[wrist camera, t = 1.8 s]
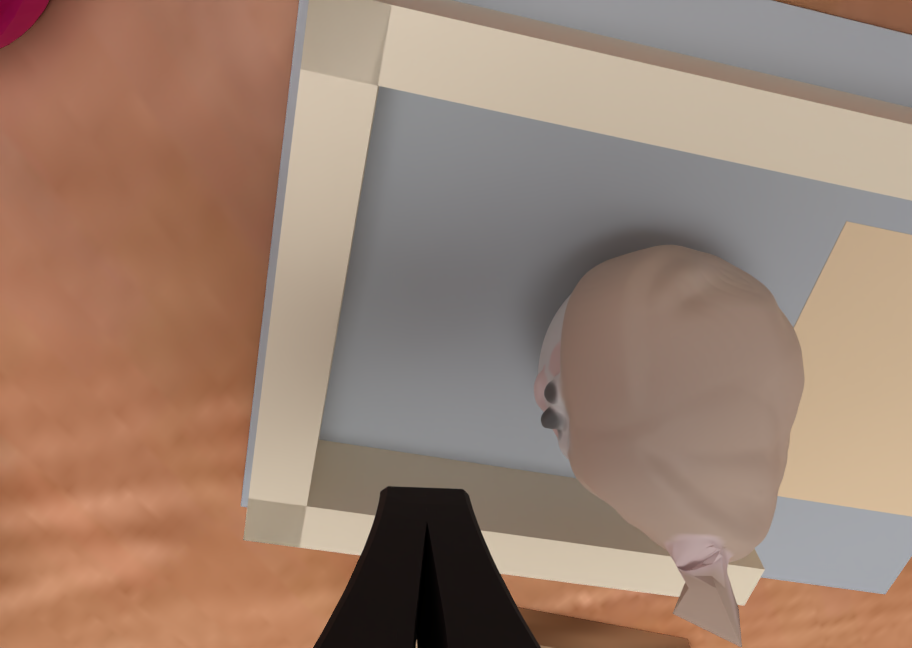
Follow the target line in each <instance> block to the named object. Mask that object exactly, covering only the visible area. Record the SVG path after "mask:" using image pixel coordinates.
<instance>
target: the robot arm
mask: <svg viewBox="0 0 912 648" xmlns="http://www.w3.org/2000/svg"><path fill="white" fill-rule="evenodd" d="M416 640H417V648H541V647H540V645H539V644H538V642H537V640H536V639H535V637H534V635H533V634H532V632H531V630H530V628H529V627H528V625H527V623H526V622H525V620H524V618H523V616H522V615H521V613H520V611H519V609H518V607H517V606H516V604H515V602H514V600H513V598H512V596H511V594H510V592H509V590H508V588H507V586H506V584H505V582H504V580H503V578H502V576H501V574H500V573H499V571H498V569H497V566H496V564H495V562H494V560H493V558H492V556H491V554H490V551H489V549H488V547H487V544H486V542H485V540H484V537H483V535H482V532H481V530H480V527H479V525H478V522H477V519H476V516H475V513H474V510H473V507H472V504H471V501H470V497H469V494H468V493H467V492H466V491H465V490H464V489H450V488H423V487H396V486H387V487H386V488H385V489H383V490H382V491H380V497H379V503H378V507H377V511H376V515H375V518H374V522H373V525H372V527H371V530H370V533H369V536H368V538H367V541H366V544H365V546H364V549H363V551H362V553H361V556H360V558H359V560H358V562H357V565H356V567H355V569H354V571H353V574H352V576H351V578H350V580H349V582H348V585H347V587H346V589H345V591H344V593H343V595H342V596H341V598H340V600H339V602H338V604H337V606H336V608H335V610H334V611H333V613H332V615H331V617H330V619H329V621H328V623H327V624H326V626H325V628H324V630H323V632H322V634H321V635H320V637H319V639H318V640H317V642H316V644H315V645H314V647H313V648H416Z"/></svg>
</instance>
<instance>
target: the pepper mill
mask: <svg viewBox="0 0 912 648" xmlns="http://www.w3.org/2000/svg"><path fill="white" fill-rule="evenodd" d="M48 2H49V0H0V48H2V47H4V46H7V45H9V44H10V43H12V42H13V41H14V40H16V39H17V38H19V37H20V36H21V35H22V34H24V33H25V32H26V31H27V30H28V29H29V28H30V27H31V26H32V25H33V24H34V23H35V22H36V20H37V19H38V18H39V16H40V15H41V14H42V12H43V11H44V10H45V8H46V6H47V4H48Z"/></svg>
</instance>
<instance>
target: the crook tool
mask: <svg viewBox="0 0 912 648" xmlns="http://www.w3.org/2000/svg"><path fill="white" fill-rule="evenodd" d="M518 609H519V611H520V613H521V615H522V616H523V618H524V620H525V622H526V623H527V625H528V627H529V628H530V630H531V632H532V634H533V635H534V637H535V639H536V640H537V642H538V644H539V645H540V647H541V648H690V645H689V642H688V639H686V638H681V637H675V636H670V635H665V634H659V633H654V632H649V631H643V630H638V629H633V628H627V627H622V626H616V625H611V624H606V623H600V622H595V621H590V620H584V619H579V618H574V617H568V616H563V615H557V614H552V613H547V612H541V611H536V610H531V609H525V608H520V607H518ZM416 648H417V640H416Z"/></svg>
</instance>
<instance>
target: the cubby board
mask: <svg viewBox="0 0 912 648" xmlns="http://www.w3.org/2000/svg"><path fill="white" fill-rule="evenodd" d="M659 245H678V246H683V247H687V248H690V249H694V250H697V251H701V252H705V253H709V254H712V255H715V256H717V257H720V258H722V259H723V260H725V261H727V262H729V263H730V264H732V265H734V266H736V267H738V268H739V269H741V270H743V271H745V272H747V273H748V274H750V275H751V276H753V277H754V278H756V279H757V280H758V281H760V282H761V283H762V284H763V285H765V286H766V287H767V288H768V289H769V290H770V292H771V293H772V294H773V296H774V298H775V300H776V302H777V304H778V306H779V308H780V309H781V311H782V312H783V313H784V315H785V316H786V317H787V319H788V320H789V322H790V323H791V325H792V326H793V328H794V330H795V332H796V335H797V337H798V340H799V343H800V346H801V351H802V359H803V367H804V376H805V382H804V389H803V393H802V397H801V400H800V403H799V407H798V411H797V414H796V418H795V421H794V423H793V426H792V428H791V432H790V442H789V448H788V457H787V464H786V468H785V472H784V476H783V480H782V482H781V484H780V487H779V490H778V496H777V503H776V509H775V513H774V517H773V520H772V523H771V526H770V529H769V531H768V533H767V535H766V537H765V539H764V540H763V541H762V542H761V543H760V544H759V545H758V546H756V547H755V548H754V550H753V551H752V552H751V553H750V554H748V555H747V556H745V557H744V558H742V559H739V560H736V561H733V562H729V563H728V567H727V574H728V577H729V580H730V583H731V586H732V590H733V593H734V596H735V599H736V602H737V605H745V603H746V602H747V600H748V598H749V596H750V595H751V593H752V591H753V590H754V588H755V586H756V584H757V583H758V581H759V579H760V577H762V578H770V579H777V580H784V581H792V582H799V583H806V584H814V585H821V586H828V587H836V588H843V589H850V590H858V591H865V592H872V593H880V594H886V592H887V591H888V590H889V588H890V587H891V585H892V584H893V582H894V581H895V579H896V578H897V577H898V575H899V574H900V572H901V571H902V569H903V568H904V566H905V565H906V564H907V562H908V561H909V559H910V558H911V556H912V35H911V34H907V33H903V32H898V31H894V30H890V29H886V28H882V27H878V26H874V25H870V24H866V23H862V22H858V21H854V20H850V19H846V18H842V17H838V16H834V15H830V14H826V13H822V12H818V11H814V10H810V9H806V8H802V7H798V6H794V5H790V4H786V3H782V2H778V1H774V0H299V8H298V16H297V25H296V34H295V42H294V51H293V59H292V68H291V77H290V85H289V94H288V103H287V111H286V120H285V129H284V137H283V146H282V154H281V163H280V172H279V180H278V189H277V198H276V206H275V215H274V223H273V232H272V241H271V249H270V258H269V267H268V275H267V284H266V293H265V301H264V310H263V318H262V327H261V336H260V344H259V353H258V362H257V370H256V379H255V388H254V396H253V405H252V413H251V422H250V431H249V439H248V448H247V457H246V465H245V474H244V482H243V491H242V500H241V506H242V507H247V514H246V522H245V531H244V539H243V540H246V541H254V542H261V543H269V544H277V545H284V546H292V547H300V548H307V549H315V550H323V551H330V552H338V553H346V554H353V555H361V553H362V551H363V549H364V546H365V544H366V541H367V538H368V536H369V533H370V530H371V527H372V525H373V522H374V518H375V515H376V511H377V507H378V503H379V497H380V491H382V490H383V489H385V488H386V487H387V486H396V487H423V488H450V489H464V490H465V491H466V492H467V493H468V494H469V497H470V501H471V504H472V507H473V510H474V513H475V516H476V519H477V522H478V525H479V527H480V530H481V532H482V535H483V537H484V540H485V542H486V544H487V547H488V549H489V551H490V554H491V556H492V558H493V560H494V562H495V564H496V566H497V569H498V571H499V573H500V574H507V575H514V576H522V577H530V578H537V579H545V580H553V581H560V582H568V583H576V584H583V585H591V586H599V587H606V588H614V589H621V590H629V591H637V592H644V593H652V594H660V595H667V596H675V597H679V596H680V594H681V591H682V589H683V586H684V584H685V581H684V579H683V577H682V575H681V574H680V572H679V570H678V568H677V566H676V564H675V562H674V561H673V559H672V558H671V556H670V554H669V552H668V551H667V550H665V549H664V548H662V547H661V546H659V545H658V544H656V543H655V542H654V541H653V540H651V539H650V538H649V537H648V536H647V535H646V534H645V533H643V532H642V531H641V530H639V529H638V528H637V527H635V526H633V525H631V524H630V523H628V522H627V521H625V520H624V519H623V518H622V517H621V516H620V515H619V514H618V512H617V511H616V510H615V509H614V508H613V507H612V506H610V505H609V504H608V503H606V502H605V501H603V500H602V499H600V498H598V497H597V496H595V495H594V494H592V493H591V492H590V491H588V490H587V489H586V488H585V487H584V486H583V485H582V484H581V483H580V482H579V481H578V479H577V478H576V476H575V475H574V473H573V471H572V468H571V465H570V461H569V460H568V459H567V458H566V457H565V456H564V454H563V453H562V452H561V450H560V447H559V443H558V438H557V436H556V435H555V433H554V432H553V430H552V429H548V428H544V427H543V426H542V424H541V416H542V414H543V413H544V412H543V411H542V410H541V408H540V407H539V406H538V404H537V403H536V400H535V397H534V383H535V380H536V377H537V375H538V365H539V358H540V352H541V348H542V344H543V341H544V338H545V335H546V332H547V330H548V328H549V325H550V323H551V321H552V319H553V317H554V316H555V314H556V312H557V311H558V309H559V308H560V307H561V305H562V304H563V303H564V301H565V300H566V299H567V298H568V297H569V295H570V294H571V293H572V292H573V290H574V288H575V286H576V285H577V283H578V282H579V281H580V279H581V278H582V277H583V276H584V275H585V274H586V273H587V272H588V271H590V270H591V269H592V268H594V267H595V266H597V265H599V264H600V263H602V262H605V261H607V260H609V259H612V258H615V257H618V256H621V255H625V254H628V253H631V252H634V251H638V250H642V249H646V248H650V247H654V246H659Z"/></svg>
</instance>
